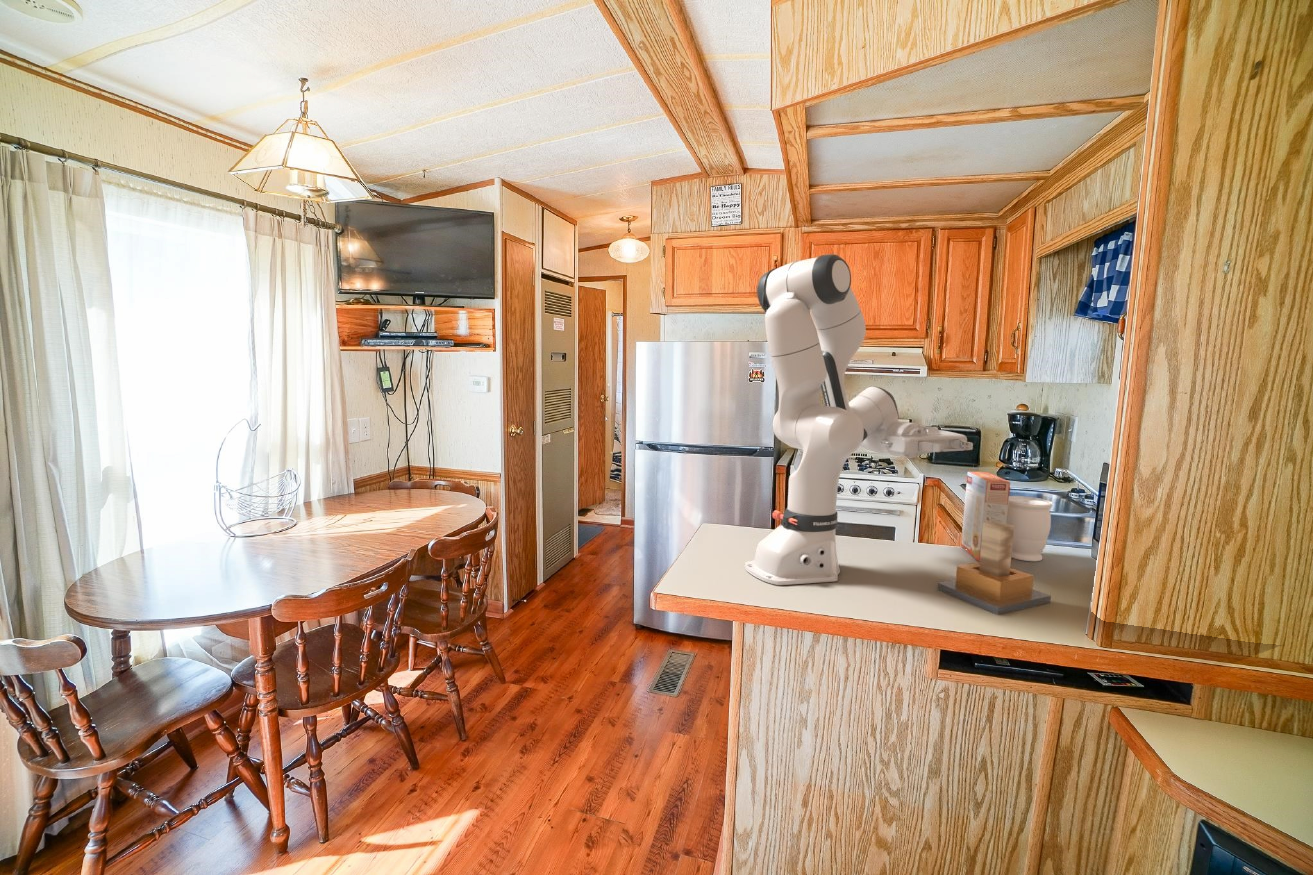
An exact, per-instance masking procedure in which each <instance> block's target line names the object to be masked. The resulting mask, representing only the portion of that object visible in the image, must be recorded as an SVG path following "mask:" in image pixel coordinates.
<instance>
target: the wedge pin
mask: <svg viewBox="0 0 1313 875" xmlns="http://www.w3.org/2000/svg"><path fill="white" fill-rule="evenodd" d="M1013 533H1014V526H1011V525H1008V524H1004V523H1000V522H988V523H983V530H982V541H981V553H980V565H979V571H982V572H984V573H987V574H990V575H993V576H996V577H1003V576H1008V575H1010V568H1011V563H1012V558H1011V554H1012V544H1013Z"/></svg>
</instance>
